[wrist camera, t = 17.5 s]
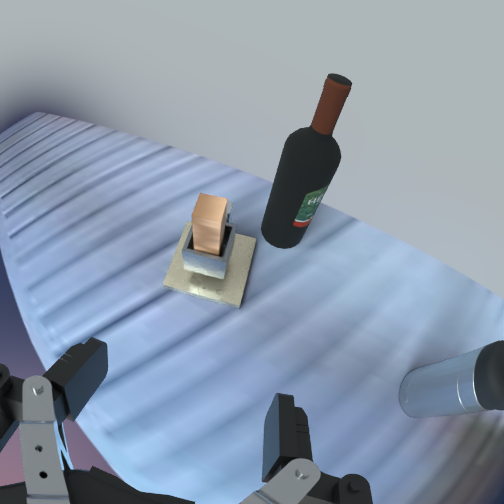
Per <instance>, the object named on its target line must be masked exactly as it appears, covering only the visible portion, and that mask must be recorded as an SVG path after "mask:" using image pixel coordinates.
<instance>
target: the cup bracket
mask: <svg viewBox="0 0 504 504" xmlns="http://www.w3.org/2000/svg"><path fill="white" fill-rule="evenodd" d="M232 210H233V203H232V202H228V201H227V211H226V221H225V231H224V241H223V251H222V255H221V257H218V256H214V255H210V254H206V253H203V252H199V251H195V250H194V240H193V227H192V222H189V221H187V224H186V226H185V229H184V231H183V234H182V236H181V239H180V241H179V244H178V246H177V249H176V251H175V254H174V256H173V259H172V262H171V264H170V267H169V270H168V272H167V275H166V278H165V280H164V283H163V286H164V288H165V289H169V290H172V291H176V292H179V293H182V294H186V295H190V296H193V297H197V298H200V299H204V300H208V301H211V302H215V303H219V304H223V305H226V306H230V307H234V308H238V309H239V307H240V303H241V299H242V295H243V291H244V287H245V283H246V279H247V275H248V271H249V267H250V263H251V259H252V255H253V251H254V247H255V243H256V238H252V237H248V236H244V235H241V234H237V233H236V229H237V225H235V224H232V223H231V218H232Z"/></svg>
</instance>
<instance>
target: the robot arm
mask: <svg viewBox="0 0 504 504" xmlns="http://www.w3.org/2000/svg"><path fill="white" fill-rule="evenodd" d="M107 371H108V354H107V344H106V343H105V342H103V341H100V340H98V339H96V338H93V337H91V338H90V339H89V340H88V341H87V342H86V343H85V344H82V343H79V344H76V345H74V346H72V347H71V348H69V349H68V350H67V351H66V352H65V354H63V355H62V356H61V357H60V359H58V360H57V361H56V362H55V363H54V364H53V365H52V366H51V368H50V369H49V370H48V371H47V372H46V373H45V374H44V375H43V376H31V377H29V378H27V379H26V380H24V379H20V378H17V377H14V376H11V375H10V372H9V369H8V368H7V367H6V366H5V365H3V364H0V452H1V451H2V449H3V448H4V446H5V445H6V443H7V442H8V440H9V439H10V438H11V436H12V435H13V433H14V432H15V430H16V429H17V427H18V426H19V429H20V430H19V431H20V445H21V455H22V462H23V470H24V477H25V481H24V482H19V483H15V484H10V485H5V486H0V504H195V502H193V501H189V500H185V499H181V498H177V497H174V496H170V495H163V494H154V493H146V492H140V491H138V490H136V489H135V488H133V487H131V486H130V485H128V484H127V483H125V482H124V481H122V480H121V479H119V478H118V477H116V476H114V475H112V474H109V473H107V472H105V471H103V470H100V469H98V468H96V467H94V466H92V468H91V470H90V471H88V470H82V469H73V466H72V463H71V460H70V458H69V453H68V448H67V443H66V438H65V433H64V428H63V423H62V422H63V421H64V420H65V418H67V419H69V420H71V421H72V422H74V420H75V419H76V418H77V416H78V415H79V413H80V412H81V410H82V409H83V408H84V406H85V405H86V403H87V402H88V401H89V399H90V398H91V396H92V395H93V394H94V392H95V391H96V390H97V388H98V387H99V385H100V384H101V383H102V381H103V380H104V379H105V377H106V374H107ZM399 399H400V404H401V407H402V409H403V411H404V412H405V413H406V414H407V415H408V416H410V417H414V418H418V417H438V416H450V415H460V414H468V413H475V412H482V411H488V410H494V409H497V410H504V341H503V340H502V341H496V342H494V343H491V344H489V345H486V346H484V347H481V348H479V349H476V350H473V351H471V352H468V353H465V354H462V355H460V356H457V357H454V358H451V359H448V360H444V361H441V362H438V363H435V364H431V365H428V366H424V367H420V368H417V369H414V370H412V371H411V372H409V373H408V374H407V375H406V377H405V378H404V380H403V382H402V384H401V387H400V393H399ZM262 482H267V484H265V485H264V486H263V487H262V488H261V489H259V490H258V491H255V492H253V493H252V494H251V495H249V496H248V497H247V498H246V499H244V500H243V501H242V502H240V503H239V504H373V502H372V496H371V490H370V485H369V483H368V481H367V480H366V479H365V478H364V477H362V476H360V475H357V474H348V475H345V476H344V477H342V478H338V477H334V476H331V475H328V474H325V473H323V472H321V471H320V469H319V467H318V466H317V465H316V464H315V463H314V462H313V459H312V450H311V442H310V434H309V427H308V418H307V415H306V413H305V412H304V410H303V409H302V408H300V407H295V406H294V397H293V395H287V394H281V393H276V395H275V397H274V399H273V401H272V404H271V406H270V408H269V410H268V413H267V415H266V418H265V423H264V445H263V470H262Z"/></svg>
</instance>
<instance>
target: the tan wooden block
mask: <svg viewBox="0 0 504 504" xmlns="http://www.w3.org/2000/svg"><path fill="white" fill-rule="evenodd" d="M227 201H228V199H226V198H222V197H217V196H212V195H207V194H202V193H200V194H199V197H198V200H197V202H196V205H195V208H194V211H193V213H192V227H193V240H194V250H195V251H199V252H203V253H206V254H210V255H214V256H218V257H221V255H222V251H223V241H224V231H225V221H226V211H227Z"/></svg>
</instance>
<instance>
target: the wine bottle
mask: <svg viewBox="0 0 504 504" xmlns="http://www.w3.org/2000/svg"><path fill="white" fill-rule="evenodd" d="M351 86H352V82H351V81H350V80H348V79H347V78H345V77H344V76H341V75H338V74H328V76H327V79H326V80H325V83H324V86H323V87H324V88H323V92H322V94H321V97H320V100H319V103H318V106H317V109H316V112H315V115H314V118H313V121H312V123H311V125H310V127H306V128H300V129H298V130H297V131H295V132H293V133H292V134H290V135H289V137H288V138H287V140H286V142H285V145H284V148H283V151H282V155H281V158H280V162H279V166H278V169H277V173H276V176H275V179H274V183H273V186H272V190H271V193H270V197H269V200H268V204H267V207H266V211H265V214H264V218H263V221H262V226H261V231H262V235H263V236H264V238H265V240H266V241H267V242H269V243H270V244H271V245H273V246H275V247H277V248H283V249H286V248H291V247H294V246H296V245H297V244H298V243H299V242H300V240H301V239H302V237H303V235H304V233H305V231H306V229H307V227H308V225H309V223H310V221H311V219H312V218H313V216H314V214H315V212H316V210H317V208H318V206H319V204H320V202H321V200H322V198H323V196H324V194H325V192H326V190H327V188H328V186H329V184H330V182H331V180H332V178H333V176H334V174H335V172H336V170H337V168H338V166H339V163H340V160H341V153H340V148H339V146H338V144H337V142H336V140H335V139H334V138H333V137H332V133H333V130H334V127H335V125H336V122H337V120H338V118H339V115H340V113H341V110H342V108H343V106H344V103H345V101H346V98H347V97H348V95H349V92H350V90H351Z"/></svg>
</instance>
